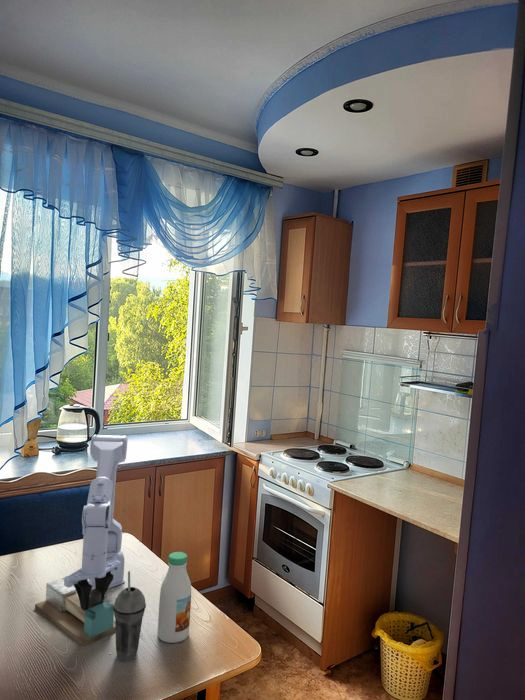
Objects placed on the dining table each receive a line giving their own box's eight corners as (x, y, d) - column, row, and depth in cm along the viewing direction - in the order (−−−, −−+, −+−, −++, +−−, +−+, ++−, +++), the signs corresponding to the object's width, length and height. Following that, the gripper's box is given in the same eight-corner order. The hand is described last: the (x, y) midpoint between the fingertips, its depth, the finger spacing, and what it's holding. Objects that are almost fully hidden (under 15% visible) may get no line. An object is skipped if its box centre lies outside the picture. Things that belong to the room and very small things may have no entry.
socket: (106, 622, 130) (107, 601, 130) (113, 627, 128) (114, 605, 128) (83, 632, 125) (85, 610, 125) (90, 637, 123) (92, 614, 123)
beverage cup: (149, 651, 121) (154, 566, 121) (131, 669, 114) (137, 579, 114) (122, 643, 124) (127, 560, 123) (103, 660, 117) (108, 572, 116)
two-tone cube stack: (75, 603, 136) (76, 576, 136) (106, 624, 127) (107, 596, 127) (62, 607, 134) (64, 581, 133) (93, 630, 125) (94, 601, 124)
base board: (70, 595, 144) (70, 591, 144) (119, 629, 129) (119, 624, 129) (34, 608, 136) (35, 604, 136) (83, 646, 122) (83, 641, 122)
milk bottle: (162, 647, 123) (167, 563, 123) (153, 629, 130) (158, 551, 130) (193, 640, 127) (198, 559, 126) (182, 623, 134) (187, 547, 133)
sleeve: (62, 595, 142) (63, 577, 141) (78, 606, 136) (79, 588, 136) (45, 601, 138) (46, 583, 138) (61, 613, 133) (62, 594, 133)
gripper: (76, 565, 120) (73, 623, 120) (129, 548, 131) (125, 601, 131) (60, 556, 124) (57, 611, 125) (112, 540, 136) (109, 591, 136)
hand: (91, 606), depth 128 cm, fingers closed on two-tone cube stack, 3 cm apart
